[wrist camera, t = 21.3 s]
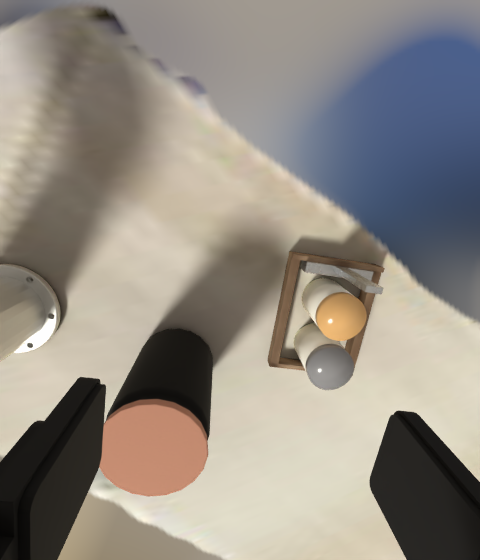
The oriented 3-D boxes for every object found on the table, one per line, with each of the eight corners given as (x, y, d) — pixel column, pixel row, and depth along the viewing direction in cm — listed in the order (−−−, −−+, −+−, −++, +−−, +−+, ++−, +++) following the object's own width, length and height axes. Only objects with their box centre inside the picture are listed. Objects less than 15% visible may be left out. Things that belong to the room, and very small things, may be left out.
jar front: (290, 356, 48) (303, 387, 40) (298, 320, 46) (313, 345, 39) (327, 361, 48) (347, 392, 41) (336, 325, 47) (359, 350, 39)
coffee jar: (127, 346, 46) (69, 437, 28) (190, 312, 45) (170, 384, 28) (166, 400, 48) (135, 513, 31) (225, 369, 48) (228, 467, 30)
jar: (296, 311, 46) (311, 334, 38) (309, 273, 44) (328, 289, 37) (333, 320, 47) (355, 345, 39) (347, 283, 45) (373, 301, 38)
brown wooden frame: (267, 359, 48) (270, 368, 45) (289, 251, 44) (293, 254, 41) (347, 368, 49) (353, 377, 46) (375, 264, 45) (384, 268, 42)
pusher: (299, 267, 44) (329, 293, 32) (301, 257, 44) (332, 280, 32) (361, 276, 45) (412, 305, 33) (363, 267, 44) (416, 292, 32)
